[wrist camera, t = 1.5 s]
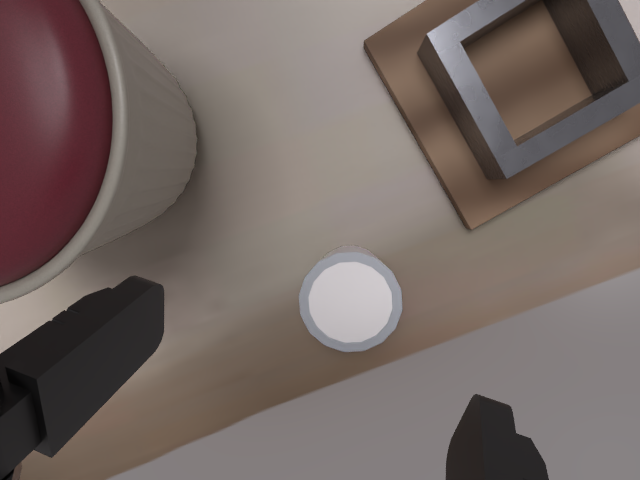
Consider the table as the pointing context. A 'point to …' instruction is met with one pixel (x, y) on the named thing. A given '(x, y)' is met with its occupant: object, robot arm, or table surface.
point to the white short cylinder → (350, 300)
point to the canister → (81, 137)
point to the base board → (507, 95)
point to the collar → (587, 52)
